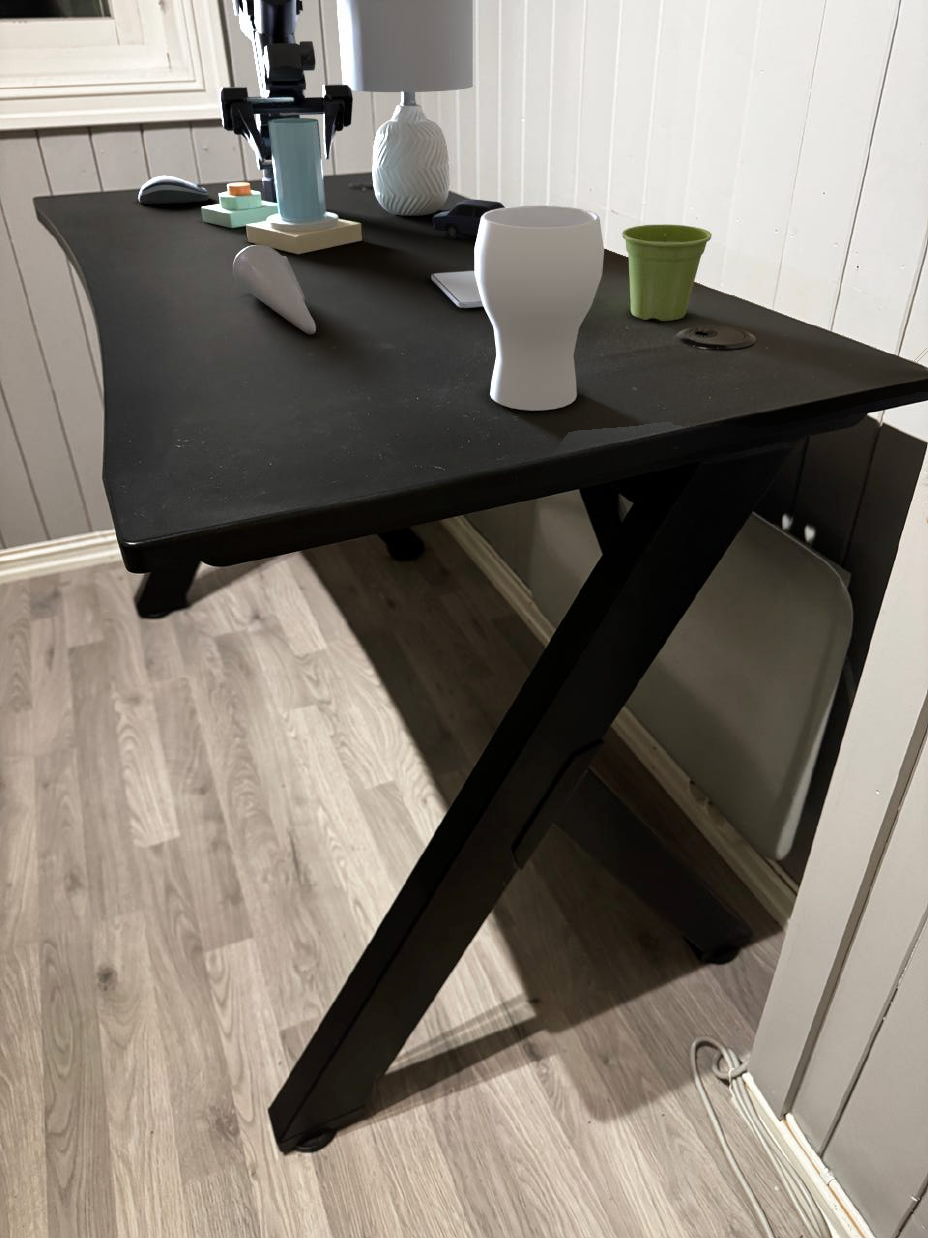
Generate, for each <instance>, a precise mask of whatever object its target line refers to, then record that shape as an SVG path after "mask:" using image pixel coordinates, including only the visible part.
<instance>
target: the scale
mask: <svg viewBox="0 0 928 1238" xmlns="http://www.w3.org/2000/svg"><path fill="white" fill-rule="evenodd" d="M245 228H246V234H247V235H246V236H247V242H248V243H252V244H254V245H264V246H268V247H270V248H272V249H274V250H275V249H277V250H279V251H284V252H288V253H292V254H295V255H301V254H305V253H311V252H315V251H319V250H324V249H325V250H326V249H329V248H333V247H338V246H343V245H347V244H348V245H349V244H352V243H356V242H361V241H363V235H362V223H360V222H356V221H352V220H346V219H342V218H339V215H338V214H336V213H334V212H330V211H326V217H325V218H324V219H321V220H316V221H309V222H290V221H284V220H281V219H280V218H279V214H275V215H272V216H269V217H268V218H267V221H263V222H258V223H253V224H247V225H246V226H245Z"/></svg>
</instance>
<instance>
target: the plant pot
mask: <svg viewBox="0 0 928 1238" xmlns="http://www.w3.org/2000/svg"><path fill="white" fill-rule="evenodd" d="M712 235H713V234H712V233H711V232H710V231H709V230H707V229H704V228H700V227H696V226H689V225H685V224H684V225H682V224H666V223H665V224H644V225H636V226H633V227H632V226H631V227H628V228H626V229H625V230H623V231H622V232H621V237H622V238H623V239H624V240H625V250H626V253H627V254H628V273H629V296H630V312H631V313H630V314H632V316H634V317H635V318H638V319H640V320H644V321H649V320H650V319H656V320H658V321H659V322H670V321H676V320H677V321H678V320H680V319H682V318H684V317H685V315H686V314H687V312H688V308H689V304H690V302H691V301H690V300H691V296H692V292H693V288H694V284H695V280H696V277H697V272H698V268H699V264H700V261H701V258H702V255H703V254H704V252H705V250H706V247H707V243H708V242H709V241H711V239H712V237H713V236H712Z"/></svg>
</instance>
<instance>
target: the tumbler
mask: <svg viewBox="0 0 928 1238" xmlns="http://www.w3.org/2000/svg"><path fill="white" fill-rule="evenodd" d="M268 125H269V134H270V143H271V152H272V160H271V161H273V169H274V178H275V187H276V196H277V205H278V214H279V218H280V219H281V220H284V221H290V222H309V221H316V220H321V219H324V218H325V217H326V212H327V207H326V195H325V193H326V192H325V182H324V171H323V169H324V168H323V160H322V149H321V137H320V136H321V135H320V123H319V120H318V119H317V118H309V117H306V118H305V117H300V118H284V119H274V120H270V121H268Z"/></svg>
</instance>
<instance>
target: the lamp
mask: <svg viewBox="0 0 928 1238" xmlns="http://www.w3.org/2000/svg"><path fill="white" fill-rule="evenodd" d="M336 5H337V6H336V7H337V21H338V34H339V35H338V36H339V46H340V47H339V48H340V64H341V76H342V78H341V79H342V84H346V85H348V86H349V87H350V88H351V91H352V92H353V91H355V92H367V93H401V102H400V104H398V105H396V108H395V111H394V113H393V116H392V117H391V119H389V120H386V121H385V122H383V123H382V124H381V125H380V126H379V128H378V130H377V131H376V136H375V140H374V144H373V154H372V181H373V183H372V184H373V189H374V194H375V198H376V200H377V201H378V204H379V205H380V206H381V208H383V209H384V210H385V211H387V212H388V213H389V214H392V215H395V216H402V217H403V216H405V217H407V216H409V217H411V216H413V217H415V216H416V217H419V216H420V217H421V216H428V215H432V214H434V213H437V211H439V210H440V209H441V208H442V207H443V206H444V204H445V203H446V201H447V200H448V197H449V193H450V191H449V190H450V184H451V182H450V181H451V177H450V176H451V175H450V174H451V173H450V164H449V162H450V161H449V159H450V158H449V151H448V146H447V143H446V137H445V135H444V134H443V133H444V132H443V130H442V128H441V126H439V125H438V124H437V123H436V122H435V121H434V120H431V119H428V118H427V116H426V114H425V113H424V111H423V108H422V105H420V104H418V103H417V101H416V93H429V92H446V91H448V92H449V91H458V90H459V91H460V90H466V89H471V88H473V87H474V83H473V82H474V78H473V77H474V76H473V75H474V71H473V70H474V69H473V65H474V64H473V62H474V60H473V57H474V56H473V55H474V53H473V51H474V47H473V43H474V42H473V39H474V38H473V37H474V36H473V29H474V28H473V27H474V26H473V21H474V20H473V19H474V17H473V10H474V9H473V8H474V7H473V6H474V5H473V0H336Z"/></svg>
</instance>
